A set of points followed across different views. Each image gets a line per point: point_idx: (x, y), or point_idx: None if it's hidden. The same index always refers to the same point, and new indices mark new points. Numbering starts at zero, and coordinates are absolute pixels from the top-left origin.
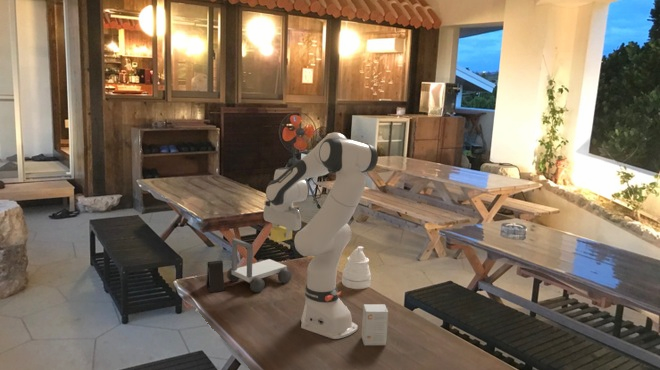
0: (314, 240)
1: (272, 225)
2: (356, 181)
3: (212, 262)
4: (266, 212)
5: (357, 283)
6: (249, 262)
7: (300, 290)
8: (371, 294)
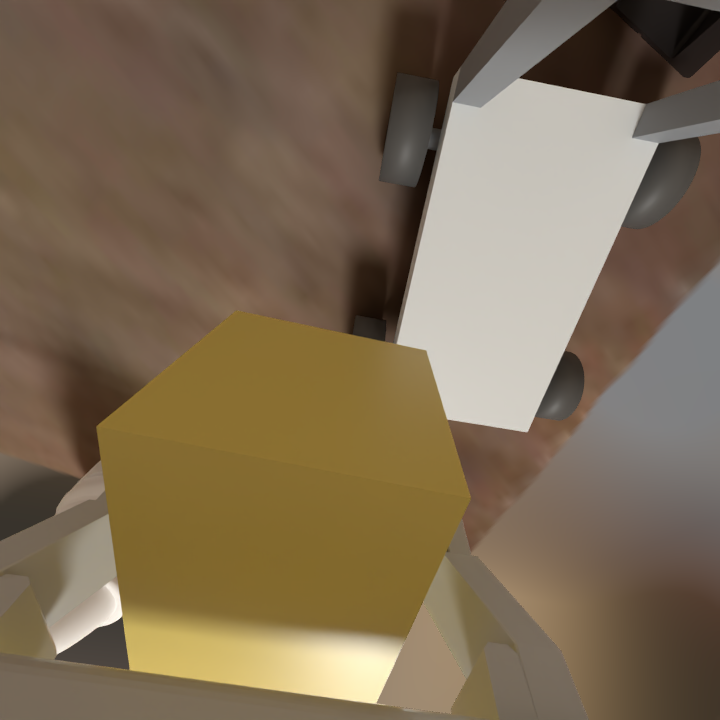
0: None
1: (548, 645)
2: None
3: None
4: None
5: (87, 474)
6: (502, 10)
7: (245, 309)
8: (31, 447)
